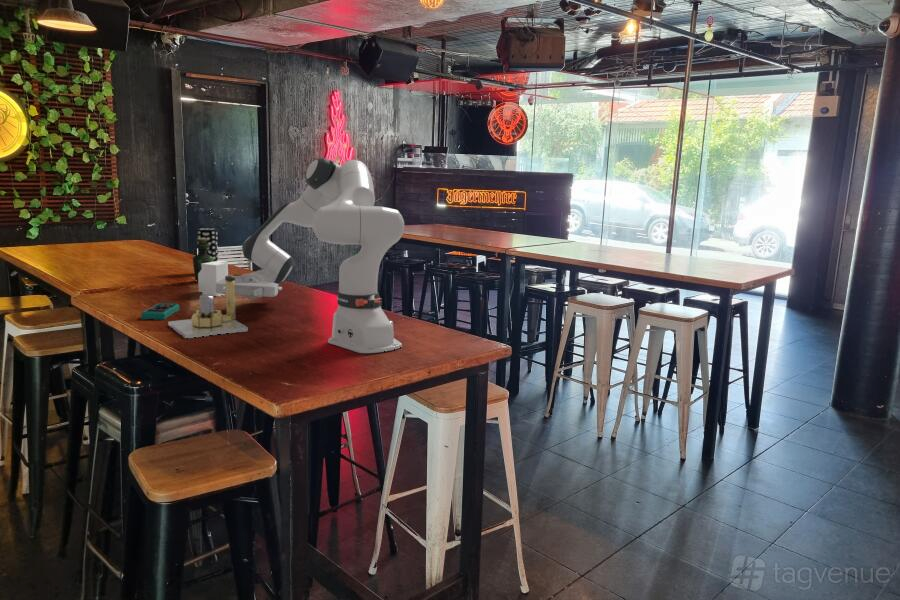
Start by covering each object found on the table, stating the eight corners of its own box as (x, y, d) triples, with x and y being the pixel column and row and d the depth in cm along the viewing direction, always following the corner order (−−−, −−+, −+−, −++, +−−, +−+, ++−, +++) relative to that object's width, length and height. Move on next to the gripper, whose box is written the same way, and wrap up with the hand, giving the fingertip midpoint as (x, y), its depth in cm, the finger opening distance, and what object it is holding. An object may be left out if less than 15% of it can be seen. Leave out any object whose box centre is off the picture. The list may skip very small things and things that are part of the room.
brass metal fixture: (204, 328, 189) (202, 283, 186) (186, 323, 194) (185, 279, 191) (243, 320, 200) (242, 277, 198) (226, 315, 205) (225, 274, 202)
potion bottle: (189, 281, 269) (187, 238, 265) (206, 279, 275) (204, 237, 272) (201, 283, 264) (199, 240, 261) (218, 281, 271) (216, 239, 267)
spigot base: (247, 331, 193) (247, 298, 191) (185, 338, 183) (184, 304, 181) (225, 318, 209) (224, 287, 207) (167, 324, 198) (165, 292, 196)
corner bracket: (216, 297, 241) (215, 265, 238) (192, 293, 244) (191, 262, 242) (235, 292, 250) (234, 261, 248) (211, 289, 254) (210, 259, 252)
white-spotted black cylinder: (206, 275, 284) (205, 230, 280) (194, 273, 288) (193, 228, 284) (222, 273, 291) (221, 229, 287) (210, 271, 295) (209, 227, 291)
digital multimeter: (180, 311, 218) (180, 302, 217) (164, 321, 203) (163, 312, 202) (158, 310, 217) (157, 302, 216) (140, 320, 202) (139, 311, 202)
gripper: (284, 296, 221) (269, 304, 207) (226, 292, 222) (208, 300, 209) (284, 278, 220) (269, 284, 206) (225, 274, 221) (207, 281, 207)
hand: (238, 292), depth 207 cm, fingers open, 8 cm apart
